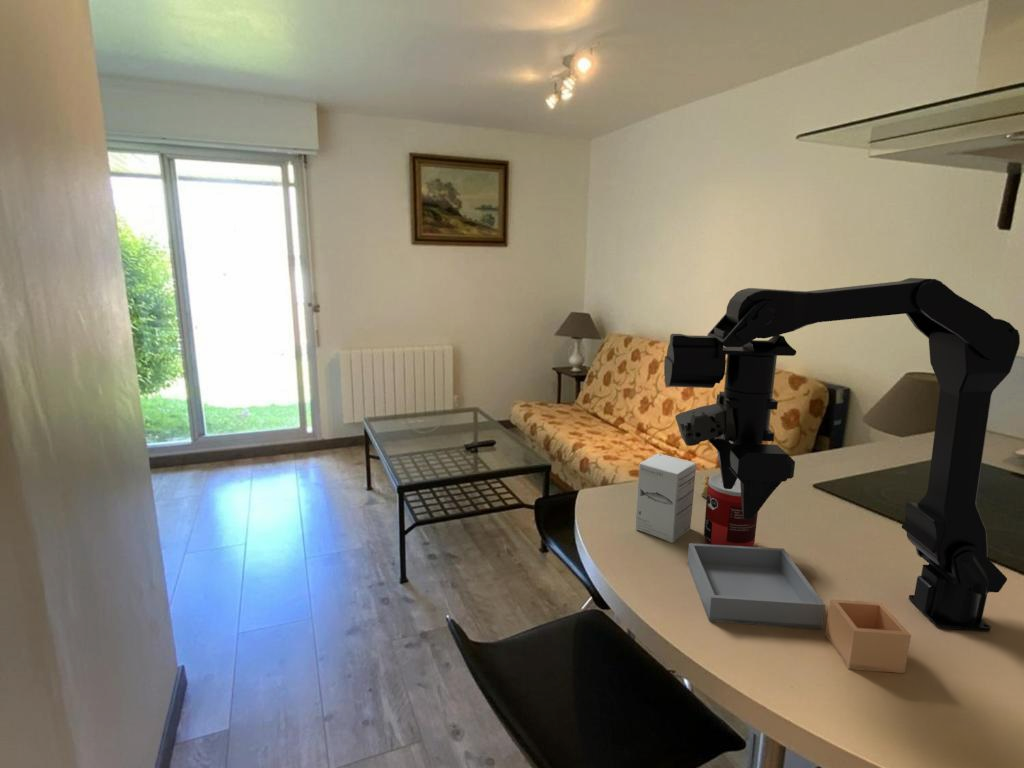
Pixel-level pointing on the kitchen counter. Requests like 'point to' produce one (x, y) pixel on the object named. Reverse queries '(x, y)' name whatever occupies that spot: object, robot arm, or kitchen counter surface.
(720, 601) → the grey square tray
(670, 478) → the supplement box
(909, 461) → the kitchen counter surface
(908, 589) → the kitchen counter surface
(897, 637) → the small crate
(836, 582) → the kitchen counter surface
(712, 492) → the canned food
